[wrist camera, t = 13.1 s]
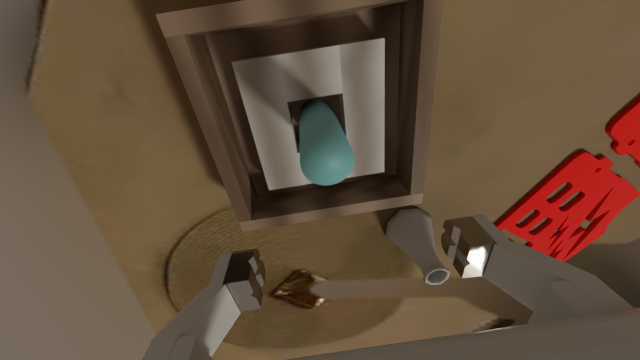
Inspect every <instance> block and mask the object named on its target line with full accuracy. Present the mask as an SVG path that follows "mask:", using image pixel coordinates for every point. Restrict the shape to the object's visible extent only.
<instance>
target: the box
mask: <svg viewBox="0 0 640 360" xmlns="http://www.w3.org/2000/svg"><path fill="white" fill-rule="evenodd" d="M442 2H443V0H242V1H236V2H230V3H223V4H217V5H211V6H204V7H198V8H192V9H185V10H179V11H173V12H167V13H160V14H155V15H156V18H157V20H158V23H159V25H160V28H161V30H162V33H163V35H164V37H165V40H166V42H167V45H168V47H169V50H170V52H171V55H172V57H173V60H174V62H175V65H176V67H177V70H178V72H179V75H180V77H181V80H182V82H183V85H184V87H185V90H186V92H187V95H188V97H189V100H190V102H191V104H192V107H193V109H194V112H195V114H196V117H197V119H198V122H199V124H200V127H201V129H202V132H203V134H204V137H205V139H206V142H207V144H208V147H209V149H210V152H211V154H212V157H213V159H214V162H215V164H216V166H217V169H218V171H219V174H220V176H221V179H222V181H223V184H224V186H225V189H226V191H227V194H228V196H229V199H230V201H231V204H232V206H233V209H234V211H235V214H236V216H237V219H238V221H239V224H240V226H241V229H242V231H243V232H245V231H251V230H258V229H264V228H270V227H276V226H283V225H289V224H295V223H302V222H308V221H314V220H320V219H327V218H333V217H339V216H345V215H352V214H358V213H364V212H370V211H377V210H383V209H389V208H395V207H402V206H408V205H414V204H420V203H422V199H423V189H424V179H425V169H426V159H427V150H428V140H429V130H430V120H431V110H432V100H433V91H434V81H435V71H436V61H437V51H438V41H439V31H440V22H441V12H442ZM313 99H321V100H324V101H326V102H327V103H328V104H329V105H330V106H331V107H332V109H333V111H334V113H335V115H336V117H337V119H338V121H339V123H340V125H341V128H342V130H343V132H344V134H345V136H346V138H347V140H348V142H349V144H350V146H351V148H352V150H353V153H354V158H355V161H354V166H353V169H352V171H351V173H350V174H349V175H348V176H347V177H346V178H345V179H344V180H342V181H341V182H339V183H337V184H334V185H318V184H315V183H313V182H311V181H310V180H308V179H307V178H306V177H305V175H304V174H303V172H302V170H301V167H300V124H299V115H300V110H301V108H302V107H303V105H304V104H305V103H306V102H308V101H310V100H313Z"/></svg>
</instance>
